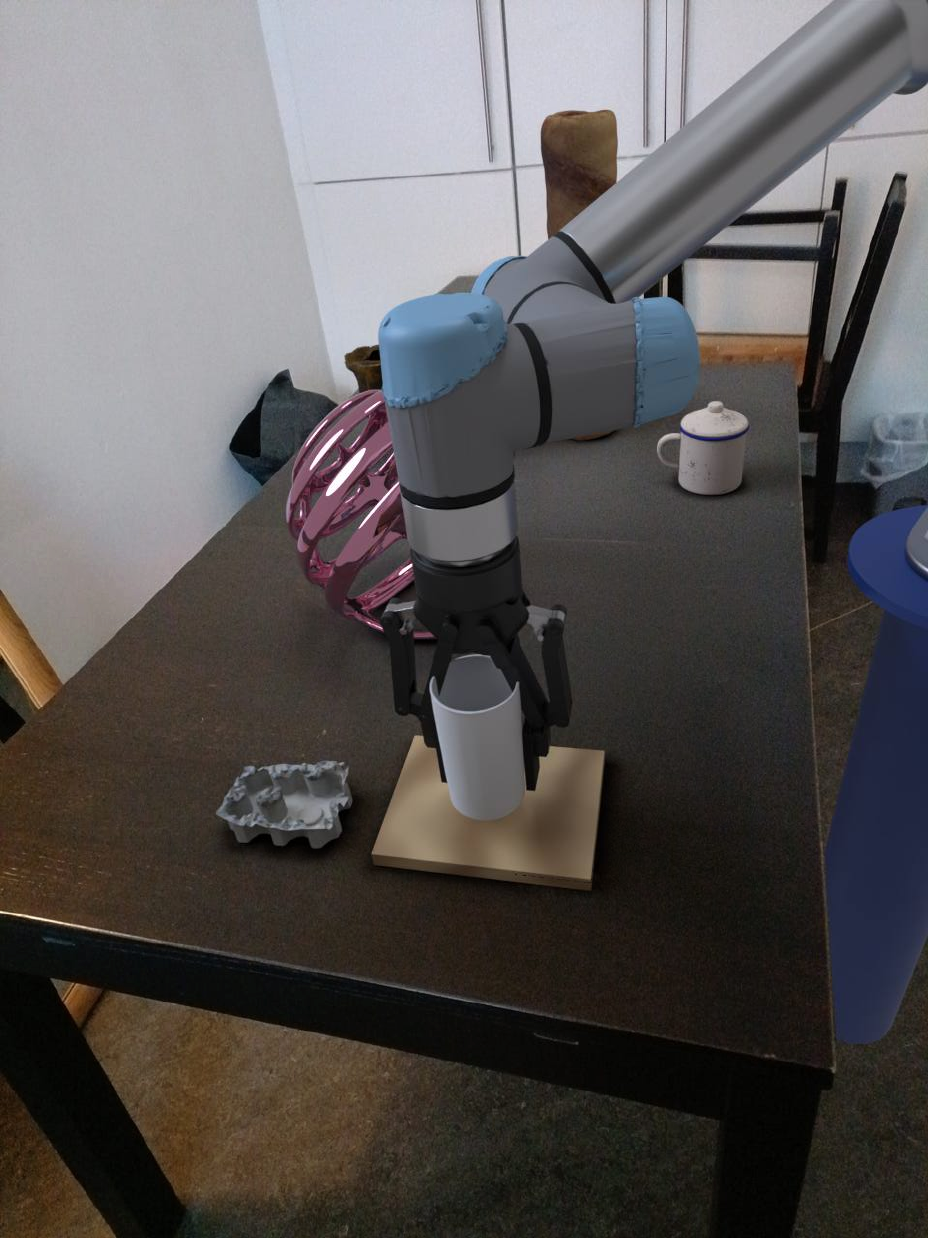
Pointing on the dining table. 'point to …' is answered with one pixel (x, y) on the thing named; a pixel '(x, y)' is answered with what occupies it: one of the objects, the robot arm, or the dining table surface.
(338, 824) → the egg carton
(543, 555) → the dining table surface
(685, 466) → the teacup with lid
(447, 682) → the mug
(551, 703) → the robot arm
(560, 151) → the wafer roll
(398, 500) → the spiral basket
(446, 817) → the board
